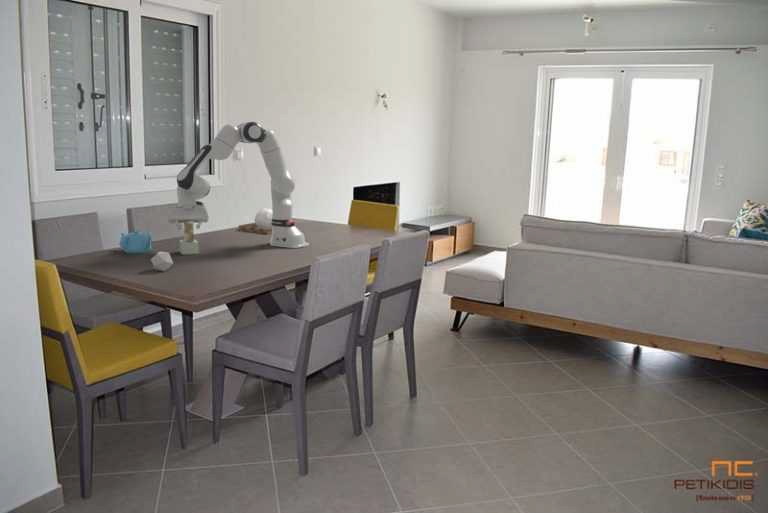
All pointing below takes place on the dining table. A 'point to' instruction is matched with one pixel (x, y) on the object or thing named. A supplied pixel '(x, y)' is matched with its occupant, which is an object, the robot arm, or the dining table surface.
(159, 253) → the die
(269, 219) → the geodesic sphere
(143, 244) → the teapot
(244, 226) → the wooden rectangular frame
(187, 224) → the beech block
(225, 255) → the dining table surface
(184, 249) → the sage cube
